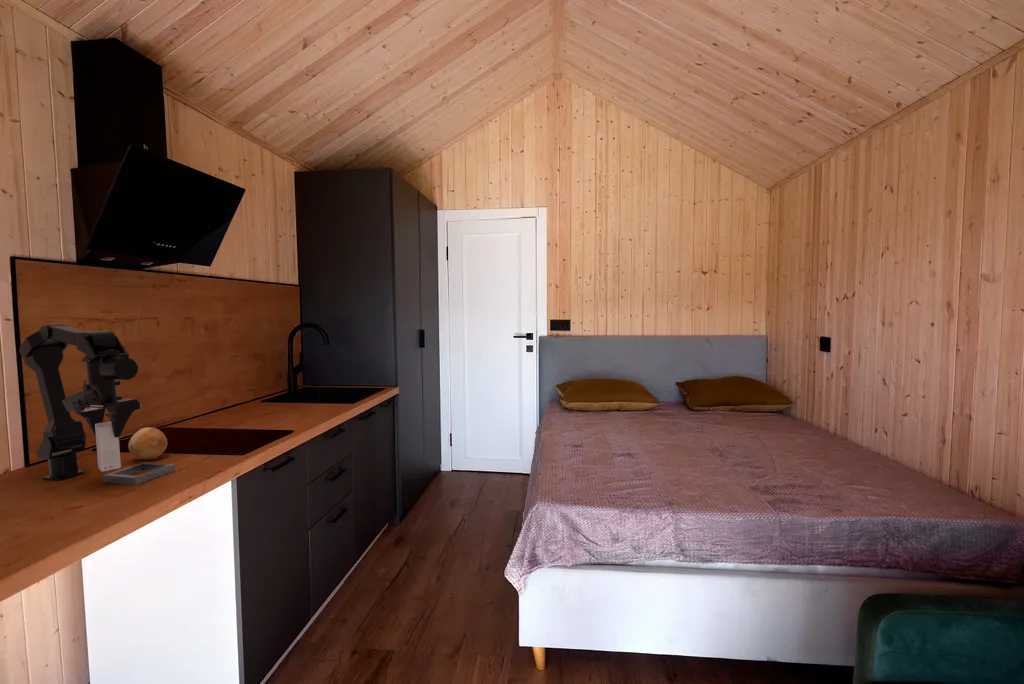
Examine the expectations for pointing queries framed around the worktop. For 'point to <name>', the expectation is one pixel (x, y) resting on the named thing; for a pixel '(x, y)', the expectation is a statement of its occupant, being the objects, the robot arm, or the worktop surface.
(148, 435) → the onion
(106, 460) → the skincare box
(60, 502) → the worktop surface
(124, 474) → the silver metal square frame
